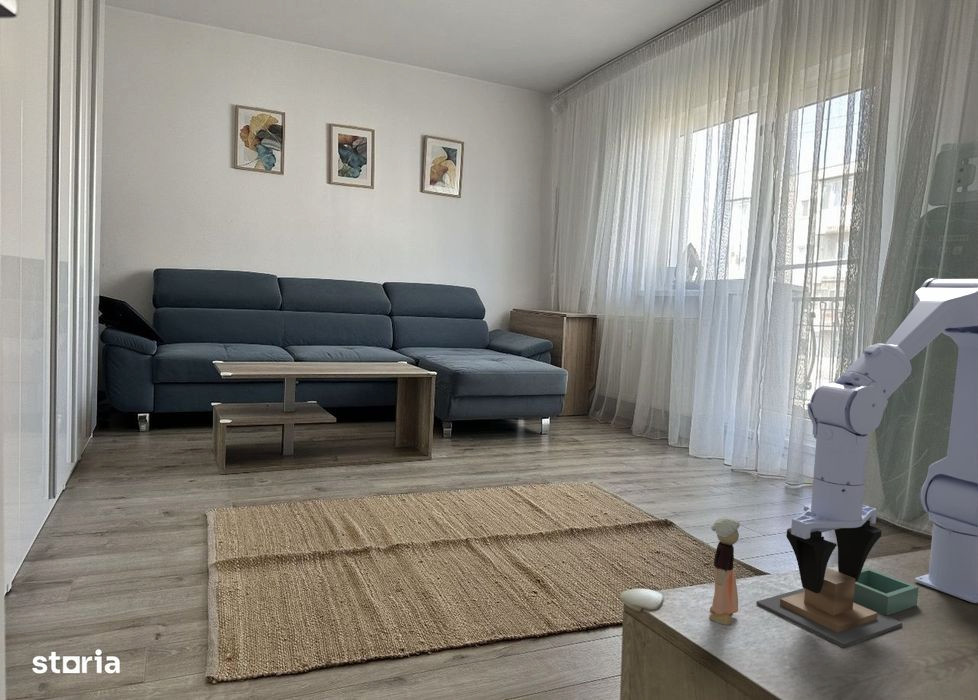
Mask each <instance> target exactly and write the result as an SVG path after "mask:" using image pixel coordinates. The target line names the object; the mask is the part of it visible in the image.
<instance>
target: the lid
mask: <svg viewBox="0 0 978 700" xmlns="http://www.w3.org/2000/svg"><path fill="white" fill-rule="evenodd" d="M854 588H855V578H853V577H850V576H848V575H845V574H843V573H840V572H839V571H837V570H834V569H833V568H829V567H826V571H825V577H824V582H823V586H822V589H821V592H820V593H814V592H812V591H809V590H807V589H805V592H802V593H799V594H795V595H792V596H788V597H785V598H781V599H780V605H781V606H784V607H786V608H788V609H790V610H792V611H794V612H796V613H798V614H800V615H802V616H804V617H806V618H809V619H811V620H813V621H815V622H817V623H819V624H821V625H823V626H825V627H827V628H829V629H831V630H833V631H836V632H841V631H844V630H847V629H850V628H853V627H856V626H858V625H861V624H864V623H867V622H870V621H873V620H876V619H877V614H878V613H879V612H878V613H877V611H876V612H874V611H872V609H871V610H870V608H869V609H867V608H865V606H864V607H863V605H862V606H860V605H858V603H857V604H856V602H855V603H853V599H854Z"/></svg>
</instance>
